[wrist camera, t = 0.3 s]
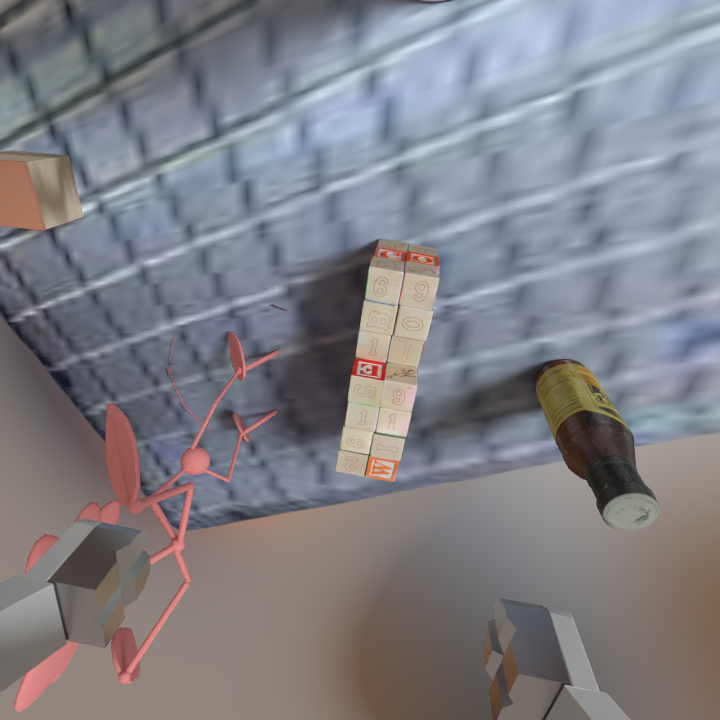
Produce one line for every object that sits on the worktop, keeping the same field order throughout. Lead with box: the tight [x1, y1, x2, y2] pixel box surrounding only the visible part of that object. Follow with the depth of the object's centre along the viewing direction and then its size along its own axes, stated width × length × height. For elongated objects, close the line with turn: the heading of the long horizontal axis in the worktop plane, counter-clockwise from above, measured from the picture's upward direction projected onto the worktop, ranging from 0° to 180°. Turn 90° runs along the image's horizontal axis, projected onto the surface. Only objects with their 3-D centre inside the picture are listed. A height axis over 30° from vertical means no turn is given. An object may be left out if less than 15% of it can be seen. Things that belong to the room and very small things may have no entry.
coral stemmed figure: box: [14, 305, 287, 712], centre depth 40 cm, size 15×26×35 cm, turn 173°
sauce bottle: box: [536, 359, 659, 531], centre depth 42 cm, size 7×6×20 cm
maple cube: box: [0, 151, 84, 230], centre depth 43 cm, size 6×6×6 cm
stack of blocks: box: [336, 239, 440, 482], centre depth 45 cm, size 21×6×12 cm, turn 172°
